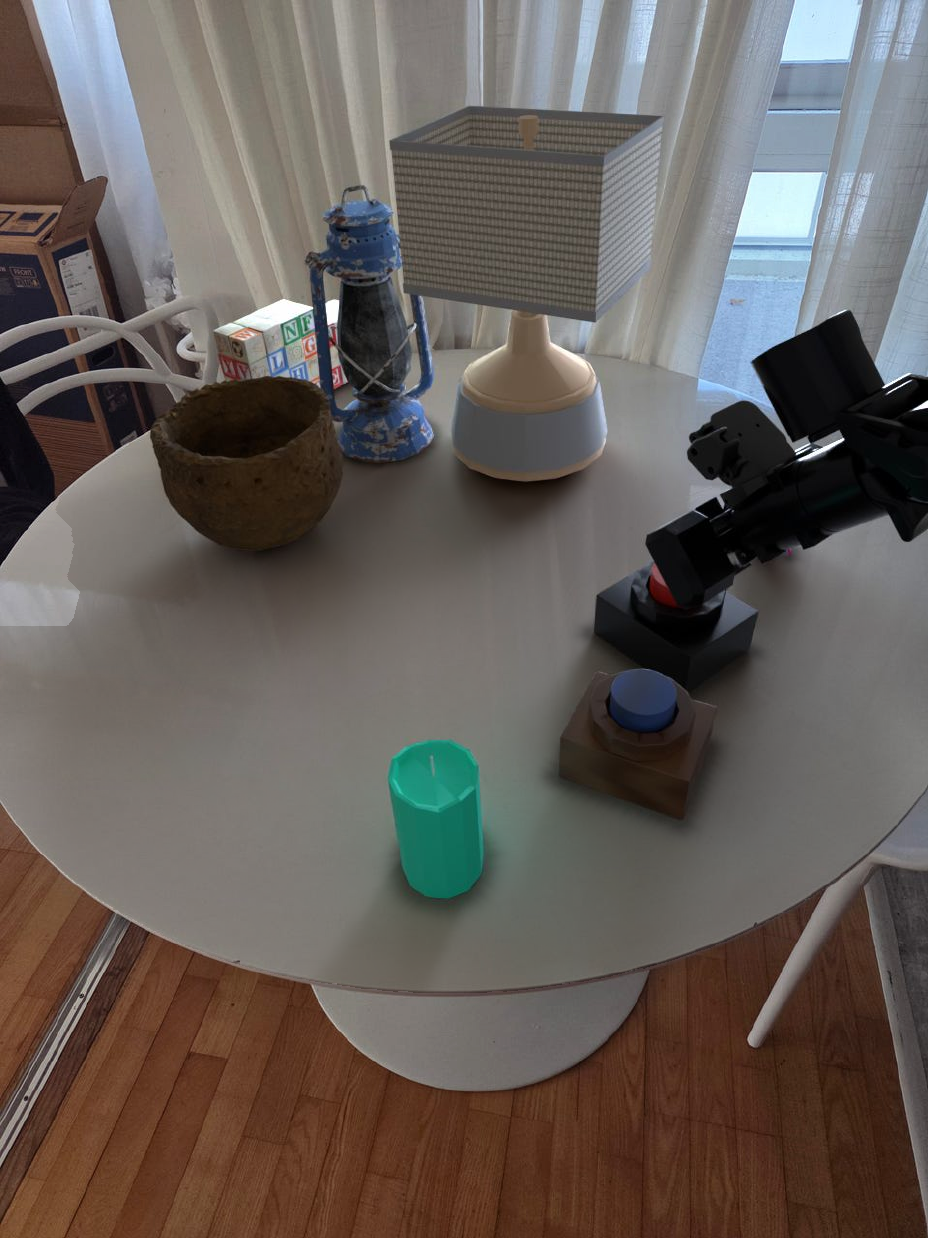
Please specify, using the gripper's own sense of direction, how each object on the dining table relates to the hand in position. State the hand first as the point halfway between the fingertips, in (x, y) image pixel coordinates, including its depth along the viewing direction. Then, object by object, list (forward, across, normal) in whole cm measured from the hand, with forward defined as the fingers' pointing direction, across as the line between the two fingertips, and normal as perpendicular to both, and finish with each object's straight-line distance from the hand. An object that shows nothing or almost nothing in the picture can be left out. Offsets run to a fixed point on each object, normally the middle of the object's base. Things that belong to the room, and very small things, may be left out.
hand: (683, 549), depth 73 cm
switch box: (+7, 0, +8) cm, 11 cm away
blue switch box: (+2, +13, +13) cm, 18 cm away
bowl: (+37, +20, -21) cm, 47 cm away
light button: (+3, 0, +3) cm, 4 cm away
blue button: (-2, +13, +9) cm, 16 cm away
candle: (+4, +30, +11) cm, 33 cm away
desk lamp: (+32, -13, -17) cm, 38 cm away
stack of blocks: (+56, -1, -41) cm, 69 cm away
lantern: (+43, -2, -28) cm, 51 cm away
